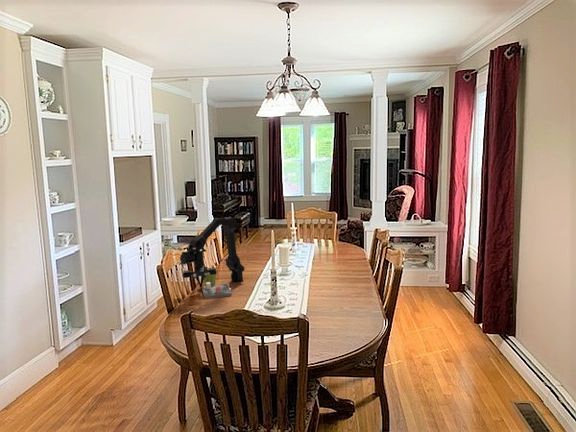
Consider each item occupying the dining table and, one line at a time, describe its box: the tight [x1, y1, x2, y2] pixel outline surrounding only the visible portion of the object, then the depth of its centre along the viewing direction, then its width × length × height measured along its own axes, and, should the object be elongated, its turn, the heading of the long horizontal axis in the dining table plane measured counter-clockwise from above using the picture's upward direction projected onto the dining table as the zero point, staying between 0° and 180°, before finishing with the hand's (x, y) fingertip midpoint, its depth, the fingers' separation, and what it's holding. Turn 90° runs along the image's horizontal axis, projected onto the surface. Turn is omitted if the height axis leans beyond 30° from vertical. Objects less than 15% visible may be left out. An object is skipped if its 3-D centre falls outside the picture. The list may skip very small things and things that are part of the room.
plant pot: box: [203, 269, 218, 286], centre depth 271 cm, size 9×9×9 cm
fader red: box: [215, 284, 221, 293], centre depth 253 cm, size 2×4×3 cm, turn 14°
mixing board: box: [201, 283, 233, 300], centre depth 257 cm, size 15×18×3 cm
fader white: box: [206, 282, 211, 289], centre depth 260 cm, size 2×4×3 cm, turn 14°
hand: (200, 287), depth 259 cm, fingers closed
